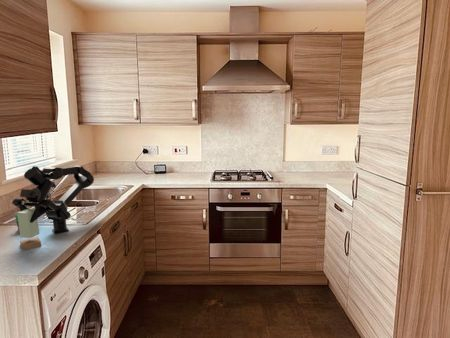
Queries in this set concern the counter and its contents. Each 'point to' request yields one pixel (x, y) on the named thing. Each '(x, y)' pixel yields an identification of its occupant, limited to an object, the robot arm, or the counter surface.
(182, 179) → the counter surface
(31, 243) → the tan slab
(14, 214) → the food container
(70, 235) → the counter surface
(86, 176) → the robot arm
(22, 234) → the sage block
